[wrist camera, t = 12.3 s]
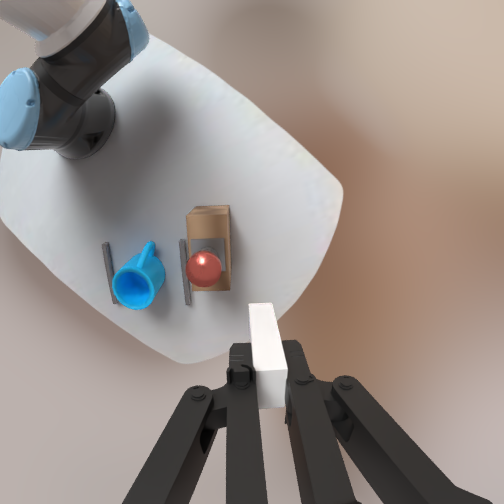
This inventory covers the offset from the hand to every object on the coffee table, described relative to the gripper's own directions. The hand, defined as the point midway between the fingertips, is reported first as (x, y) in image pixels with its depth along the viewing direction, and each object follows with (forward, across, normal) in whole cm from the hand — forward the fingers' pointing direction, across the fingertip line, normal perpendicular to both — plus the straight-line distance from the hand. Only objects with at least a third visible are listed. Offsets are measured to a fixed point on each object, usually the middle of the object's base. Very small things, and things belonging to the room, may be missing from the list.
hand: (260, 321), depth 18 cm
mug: (+35, -19, -8) cm, 41 cm away
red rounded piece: (+24, -6, -3) cm, 24 cm away
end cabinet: (+34, -6, -3) cm, 35 cm away
